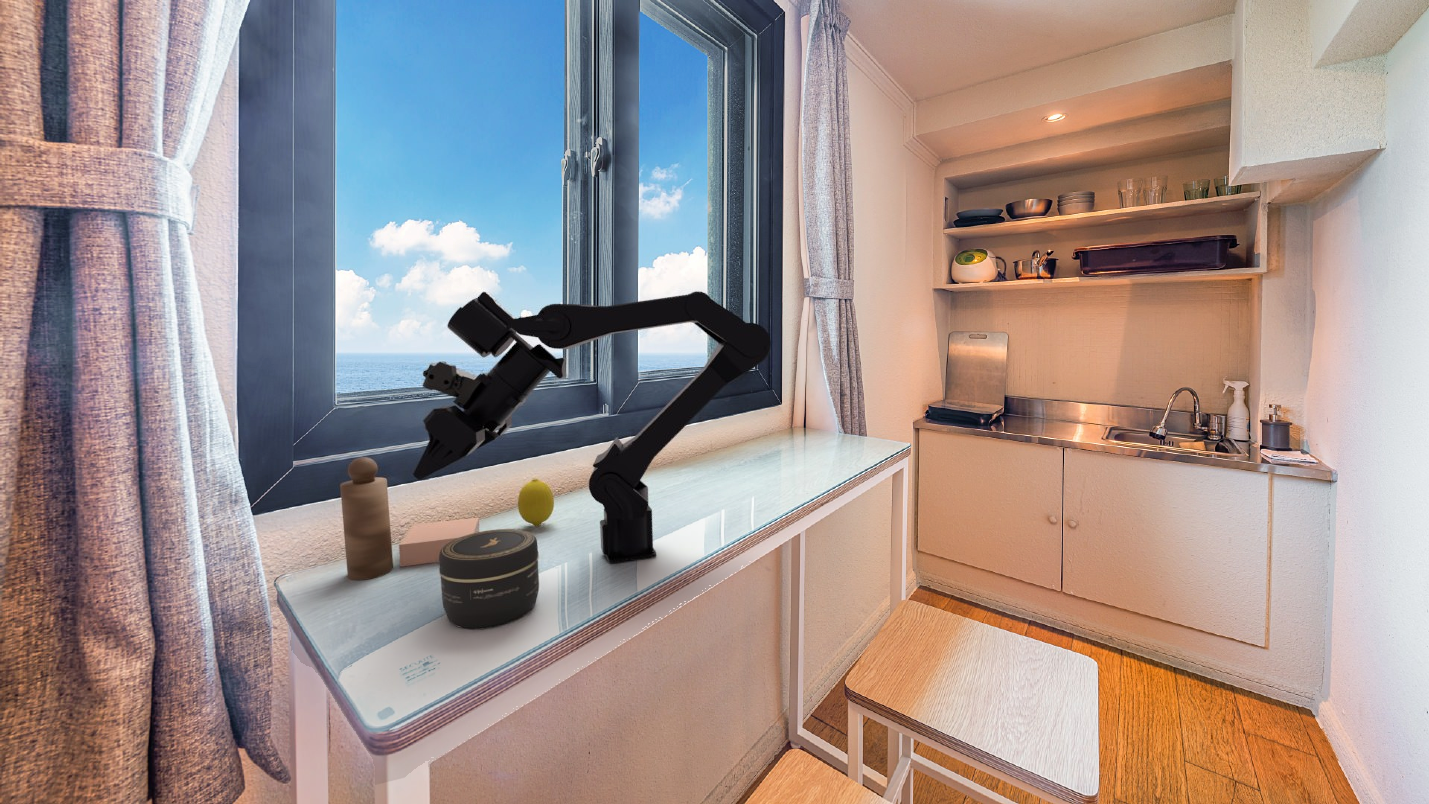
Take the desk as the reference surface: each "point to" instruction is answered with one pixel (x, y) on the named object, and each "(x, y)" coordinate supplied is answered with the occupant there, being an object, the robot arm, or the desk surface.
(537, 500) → the lemon
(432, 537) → the pink block base
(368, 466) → the pepper mill
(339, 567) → the desk surface
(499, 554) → the jar
